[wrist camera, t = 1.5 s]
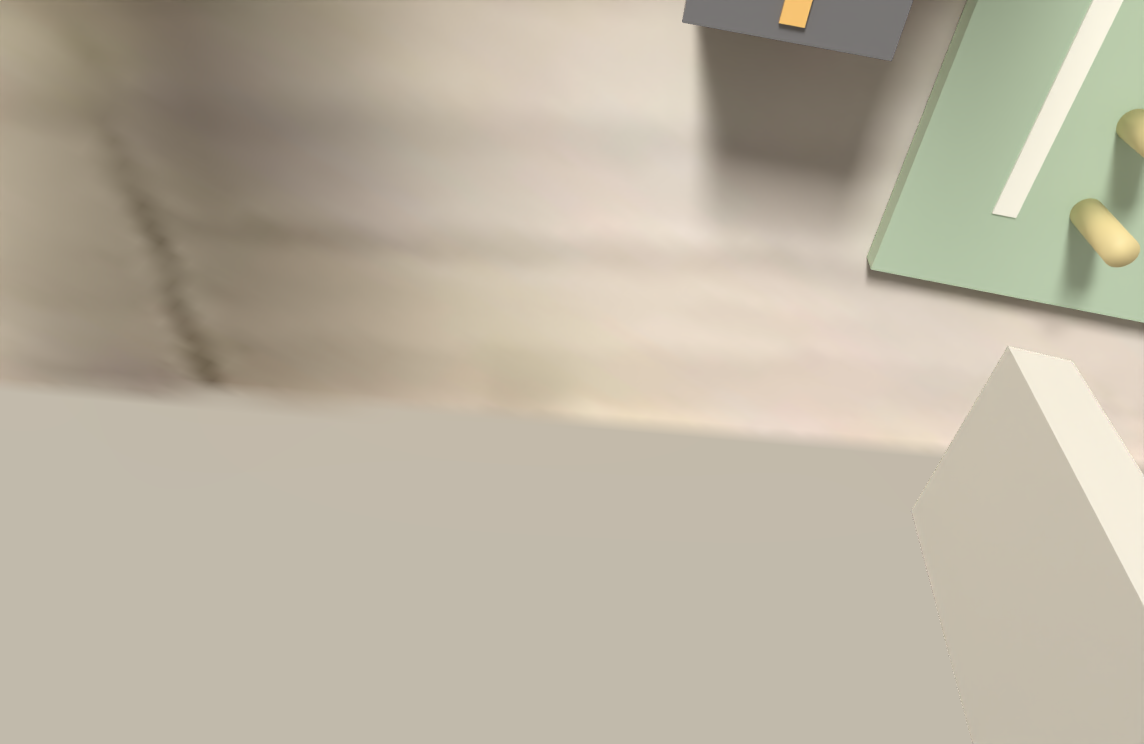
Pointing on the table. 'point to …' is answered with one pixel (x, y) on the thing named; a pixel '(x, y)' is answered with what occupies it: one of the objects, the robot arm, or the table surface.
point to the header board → (1030, 159)
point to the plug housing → (810, 22)
